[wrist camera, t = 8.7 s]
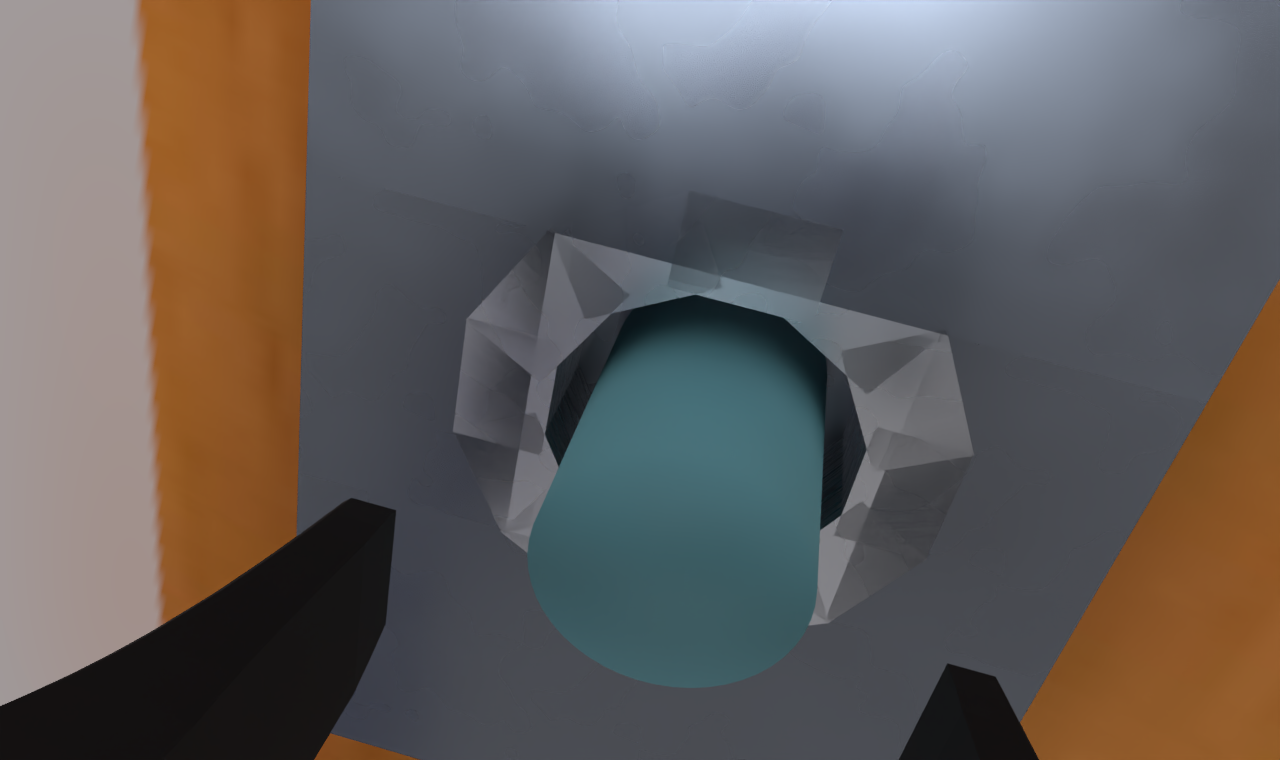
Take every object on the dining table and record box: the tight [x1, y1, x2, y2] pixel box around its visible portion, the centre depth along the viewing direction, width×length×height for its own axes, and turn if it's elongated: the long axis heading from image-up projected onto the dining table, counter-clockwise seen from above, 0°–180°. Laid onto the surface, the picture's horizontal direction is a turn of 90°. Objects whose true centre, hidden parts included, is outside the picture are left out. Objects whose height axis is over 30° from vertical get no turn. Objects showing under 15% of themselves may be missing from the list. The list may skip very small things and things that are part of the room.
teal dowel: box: [527, 294, 827, 688], centre depth 17 cm, size 4×4×6 cm
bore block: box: [297, 0, 1280, 760], centre depth 18 cm, size 20×14×3 cm
